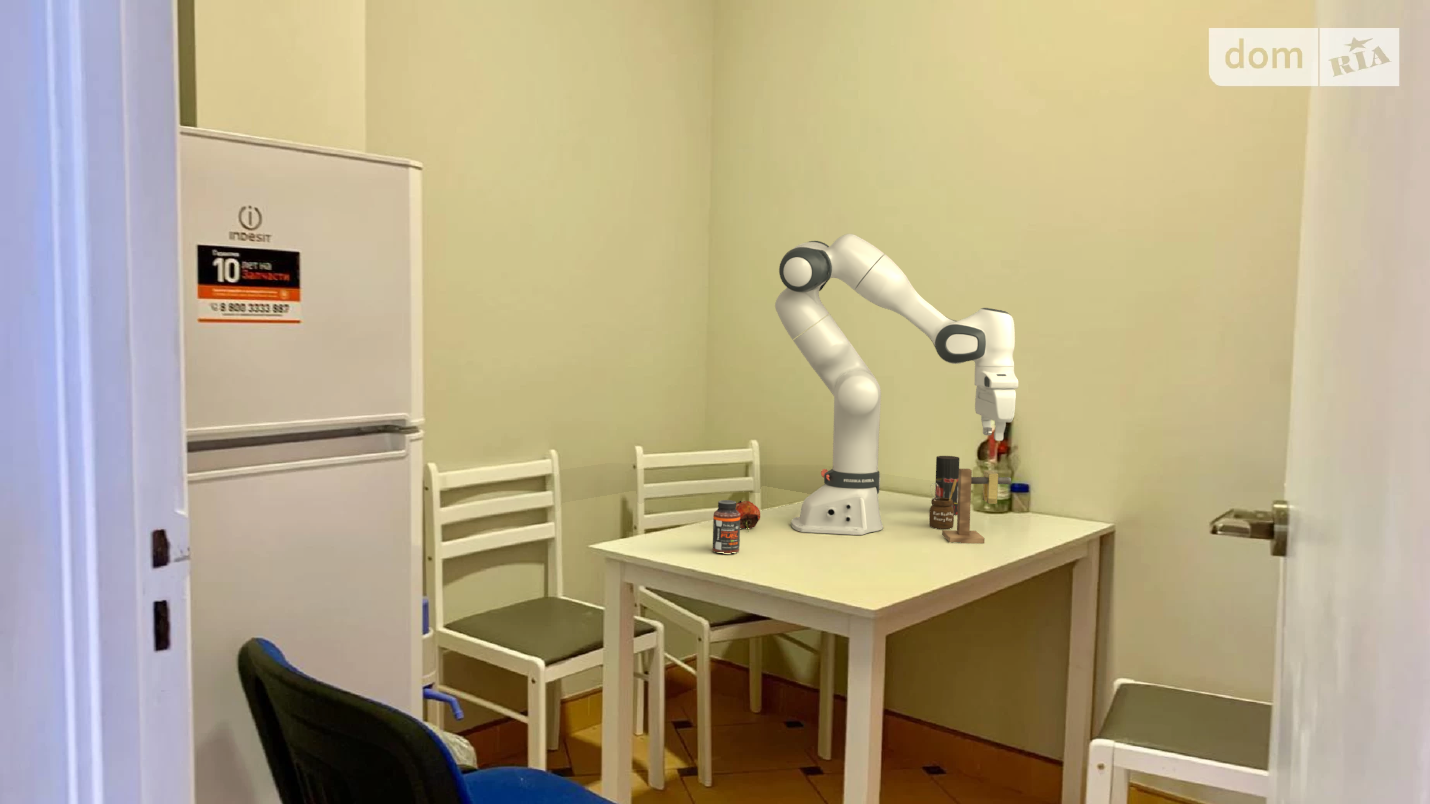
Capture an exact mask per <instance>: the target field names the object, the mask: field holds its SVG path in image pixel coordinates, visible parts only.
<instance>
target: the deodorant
mask: <svg viewBox="0 0 1430 804" xmlns="http://www.w3.org/2000/svg"><path fill="white" fill-rule="evenodd" d="M935 459H936V460H935V463H936V464H935V483H937V485H936V484H935V483H934V485H935V486H934V491H935V492H934V498H950V495H951V489H952V486H953V483H954V480H955V479H956V480H957V481H956V485H955V489H954V492H953V493H952V497H951V499H952V500H953V505H952V507H953V509H954V515H955V516H957V510H958V482H959V469H960V457H959V456H953V455H938V456H936V458H935ZM937 488H938V489H937ZM939 488H940V489H939ZM936 492H937V493H936ZM939 492H940V493H939ZM939 495H940V497H939ZM935 496H936V497H935Z"/></svg>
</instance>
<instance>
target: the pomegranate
mask: <svg viewBox="0 0 1430 804" xmlns="http://www.w3.org/2000/svg"><path fill="white" fill-rule="evenodd" d="M736 510H737V511H738V512H739V513H740V528H747V533H748V532H750V531H749V530H750V529H753V528H755V527H756V526H757V524H758V522H759V521H760V520H761V511H760V508H759V507H758V506H757V505H756V504H754V503H753V502H752V501H749V500H743V501H742V500H739V501H738V502H736ZM748 528H750V529H748Z"/></svg>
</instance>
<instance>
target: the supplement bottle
mask: <svg viewBox="0 0 1430 804" xmlns="http://www.w3.org/2000/svg"><path fill="white" fill-rule="evenodd" d="M736 504H737V502H736V500H730V499H725V500H724V499H722V500H718V502H717V510H715V511H714V512H713V514H712V515H713V522H712V551H713V552H714V551H715V552H724V553H732V552H738V553H739V551H740V543H741V538H740V537H741V534H740V533H741V529H740V513H739V512H738V511H737V510H736ZM715 552H714V553H715Z"/></svg>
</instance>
